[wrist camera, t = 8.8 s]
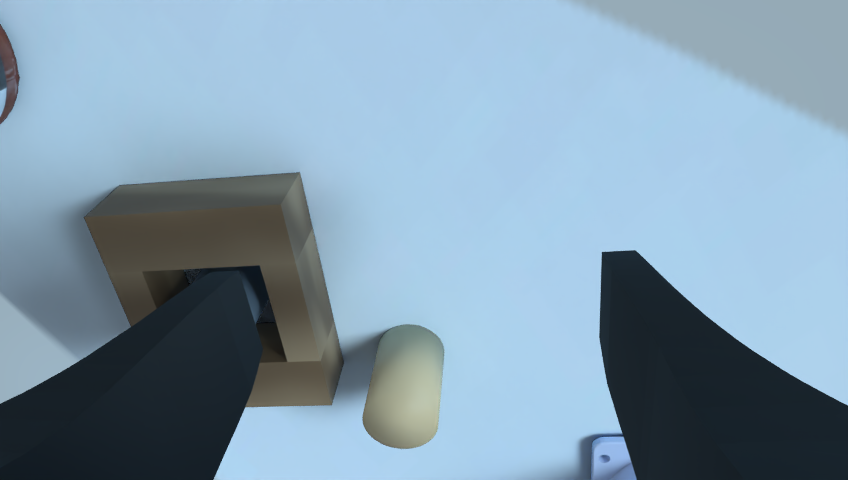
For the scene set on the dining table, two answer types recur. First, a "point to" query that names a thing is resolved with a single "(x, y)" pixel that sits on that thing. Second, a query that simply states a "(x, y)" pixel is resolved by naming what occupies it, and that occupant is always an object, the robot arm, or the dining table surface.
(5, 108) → the supplement bottle
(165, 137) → the dining table surface
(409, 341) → the short dowel
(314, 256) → the block with square hole
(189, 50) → the dining table surface
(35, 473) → the robot arm
